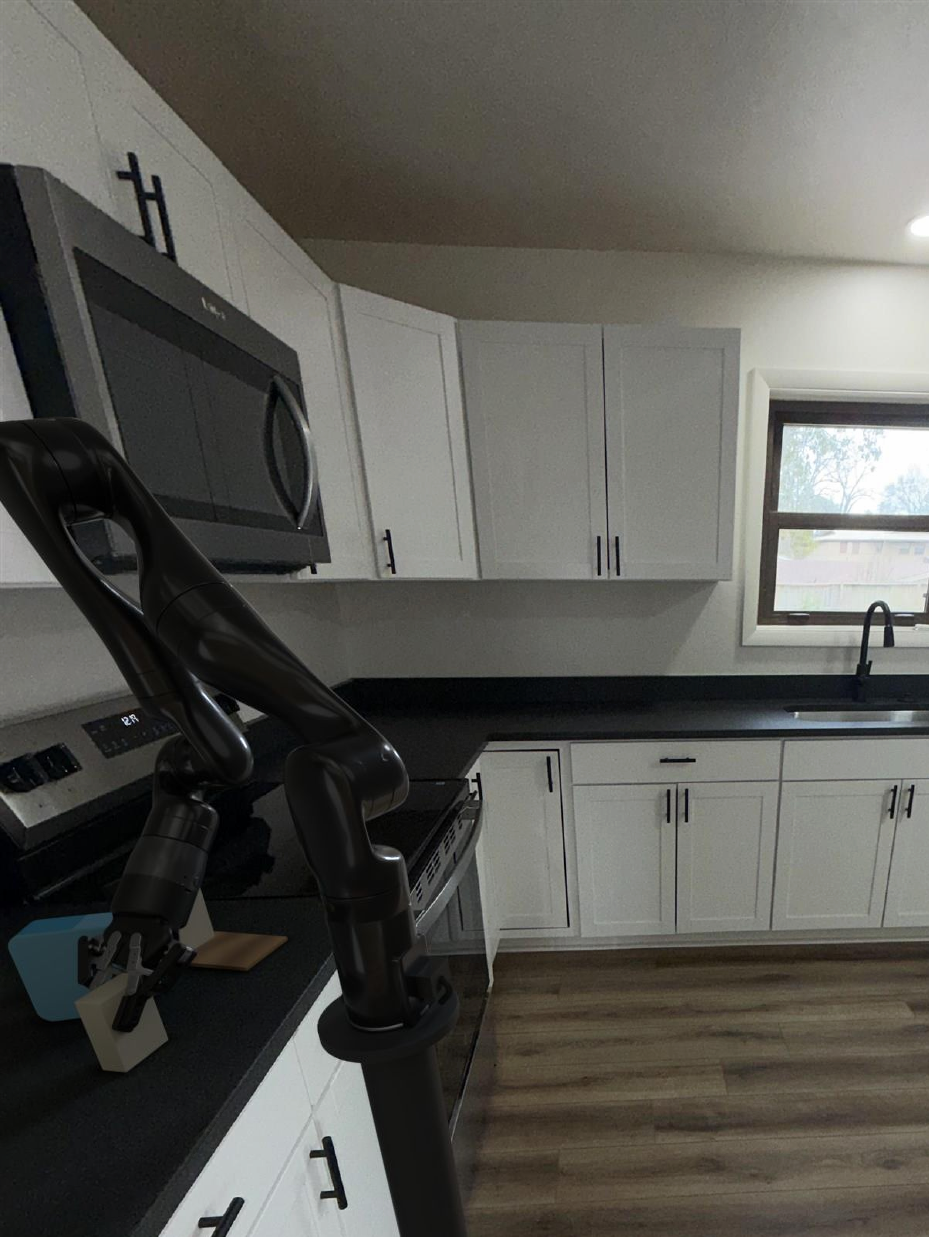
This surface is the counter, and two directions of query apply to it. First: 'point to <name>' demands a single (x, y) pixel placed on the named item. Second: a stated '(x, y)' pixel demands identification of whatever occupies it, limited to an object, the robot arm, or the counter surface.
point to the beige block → (118, 1046)
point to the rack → (216, 939)
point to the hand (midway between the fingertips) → (107, 1029)
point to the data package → (55, 962)
